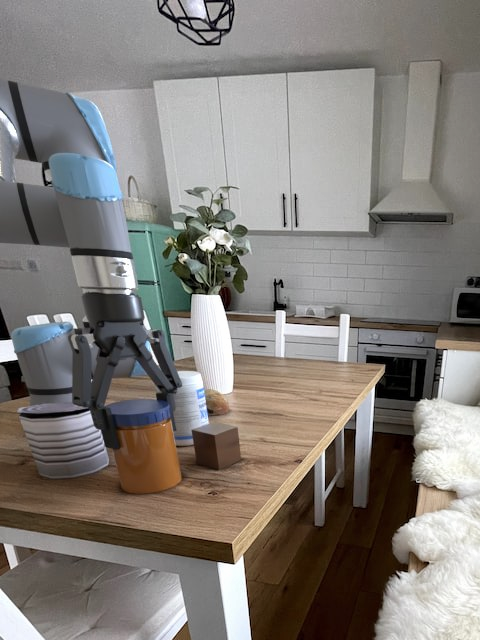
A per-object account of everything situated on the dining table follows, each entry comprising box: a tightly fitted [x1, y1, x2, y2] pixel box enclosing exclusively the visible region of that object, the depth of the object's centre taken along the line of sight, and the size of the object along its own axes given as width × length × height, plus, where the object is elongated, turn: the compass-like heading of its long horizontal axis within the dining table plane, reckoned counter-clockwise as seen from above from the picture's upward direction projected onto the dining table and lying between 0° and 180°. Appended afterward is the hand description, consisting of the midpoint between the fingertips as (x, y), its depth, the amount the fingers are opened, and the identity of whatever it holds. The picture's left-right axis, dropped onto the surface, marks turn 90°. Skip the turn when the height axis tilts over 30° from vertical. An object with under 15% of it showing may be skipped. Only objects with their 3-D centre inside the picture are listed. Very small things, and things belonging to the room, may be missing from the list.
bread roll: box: [204, 388, 230, 417], centre depth 110 cm, size 10×10×8 cm
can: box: [15, 402, 110, 480], centre depth 72 cm, size 11×11×12 cm
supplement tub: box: [154, 370, 210, 447], centre depth 86 cm, size 10×10×15 cm
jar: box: [111, 417, 183, 495], centre depth 67 cm, size 10×10×13 cm
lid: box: [104, 398, 171, 426], centre depth 64 cm, size 10×10×2 cm
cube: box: [191, 421, 242, 471], centre depth 77 cm, size 6×6×7 cm
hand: (143, 438), depth 66 cm, fingers closed on lid, 10 cm apart
